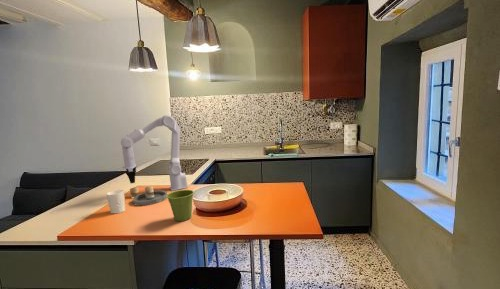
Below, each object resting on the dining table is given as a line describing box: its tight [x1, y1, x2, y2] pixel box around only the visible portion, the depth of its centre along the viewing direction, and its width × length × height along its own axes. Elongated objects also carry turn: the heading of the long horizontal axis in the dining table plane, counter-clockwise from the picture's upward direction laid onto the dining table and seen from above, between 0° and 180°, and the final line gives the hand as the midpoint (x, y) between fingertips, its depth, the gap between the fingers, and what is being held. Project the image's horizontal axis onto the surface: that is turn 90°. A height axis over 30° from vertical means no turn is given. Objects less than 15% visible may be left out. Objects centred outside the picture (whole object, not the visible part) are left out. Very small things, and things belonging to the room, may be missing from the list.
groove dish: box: [132, 190, 168, 206], centre depth 160 cm, size 18×18×2 cm
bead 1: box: [129, 186, 140, 198], centre depth 169 cm, size 4×4×5 cm
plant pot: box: [166, 189, 195, 222], centre depth 129 cm, size 12×12×11 cm
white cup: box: [105, 189, 126, 214], centre depth 146 cm, size 8×8×10 cm
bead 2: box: [144, 185, 155, 196], centre depth 165 cm, size 4×4×5 cm
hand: (132, 181), depth 168 cm, fingers open, 7 cm apart
